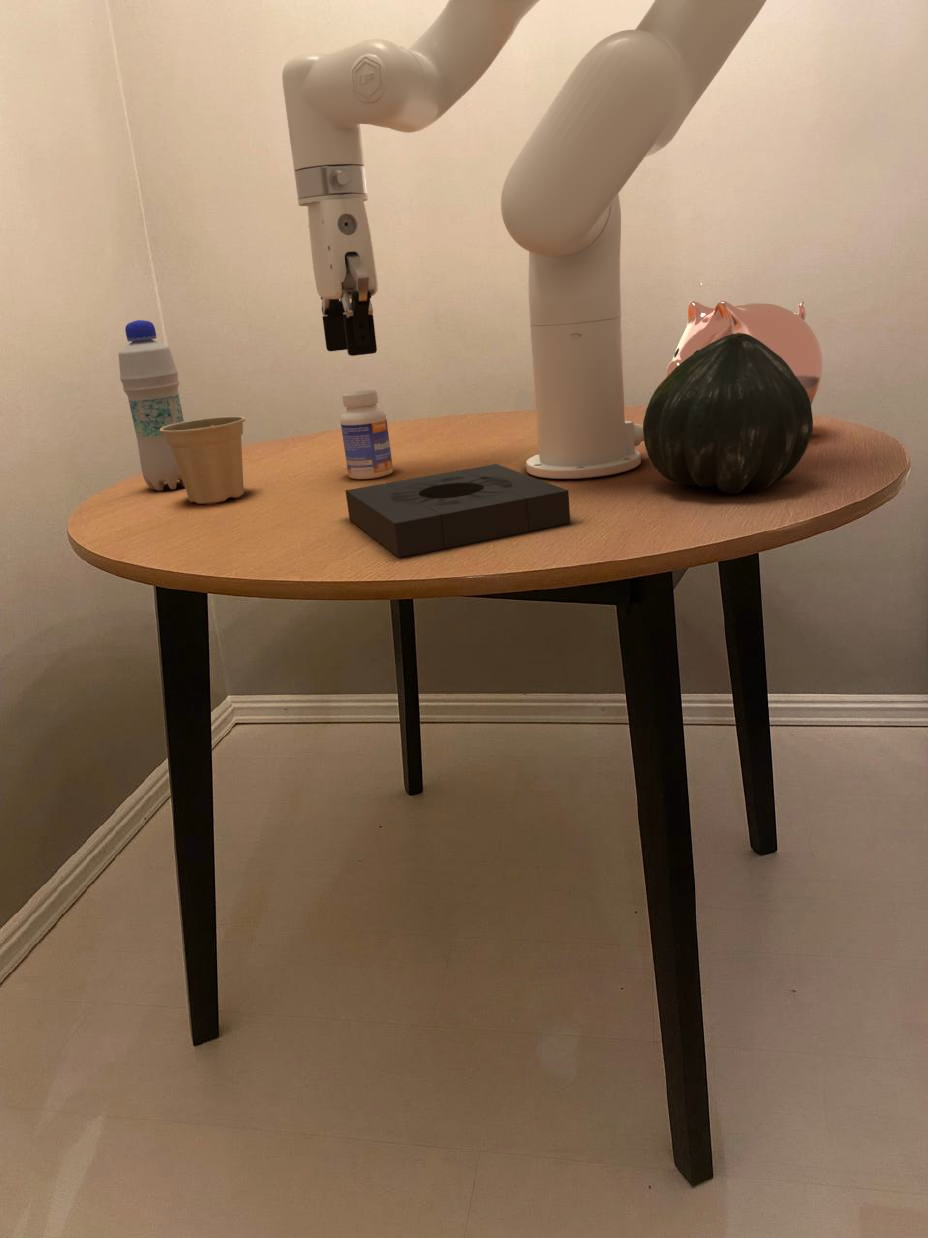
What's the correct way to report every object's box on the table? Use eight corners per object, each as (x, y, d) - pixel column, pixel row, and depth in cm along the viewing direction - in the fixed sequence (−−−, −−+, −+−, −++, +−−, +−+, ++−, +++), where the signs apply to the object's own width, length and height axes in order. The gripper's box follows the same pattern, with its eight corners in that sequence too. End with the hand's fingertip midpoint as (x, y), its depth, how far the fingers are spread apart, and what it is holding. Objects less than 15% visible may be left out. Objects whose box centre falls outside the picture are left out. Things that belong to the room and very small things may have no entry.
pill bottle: (386, 478, 109) (375, 393, 106) (342, 481, 110) (330, 397, 107) (398, 468, 114) (388, 387, 111) (356, 471, 115) (345, 390, 112)
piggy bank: (641, 441, 115) (637, 305, 110) (768, 420, 120) (770, 288, 114) (708, 460, 102) (706, 305, 96) (849, 436, 106) (855, 286, 100)
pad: (498, 492, 97) (496, 463, 96) (570, 523, 83) (568, 490, 82) (349, 520, 92) (345, 490, 91) (398, 558, 78) (394, 523, 77)
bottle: (210, 480, 119) (178, 315, 112) (174, 493, 113) (139, 320, 106) (169, 480, 122) (136, 319, 115) (133, 492, 116) (95, 324, 109)
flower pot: (170, 498, 111) (155, 424, 108) (249, 484, 114) (236, 412, 111) (180, 513, 103) (164, 433, 100) (265, 497, 106) (252, 420, 103)
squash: (683, 410, 100) (652, 308, 88) (831, 415, 92) (820, 303, 80) (648, 523, 95) (610, 430, 83) (801, 537, 88) (784, 437, 76)
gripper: (388, 177, 95) (405, 352, 101) (345, 194, 110) (362, 345, 116) (315, 181, 92) (337, 360, 98) (281, 197, 108) (302, 351, 114)
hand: (351, 351), depth 107 cm, fingers open, 9 cm apart
